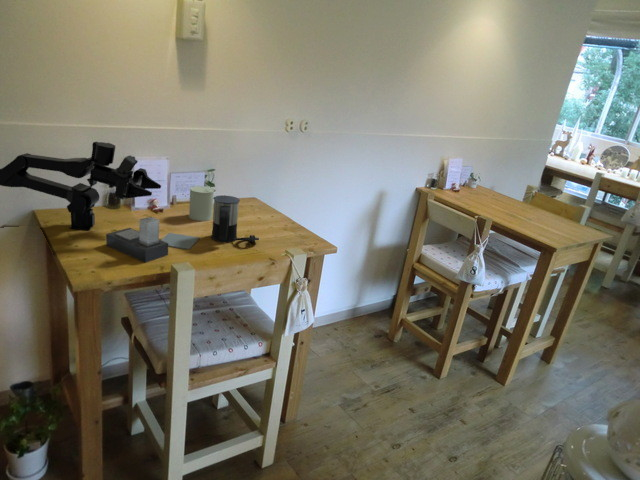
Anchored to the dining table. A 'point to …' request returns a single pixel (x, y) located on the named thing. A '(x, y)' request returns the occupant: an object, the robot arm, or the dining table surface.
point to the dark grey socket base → (135, 245)
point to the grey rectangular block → (149, 232)
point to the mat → (180, 240)
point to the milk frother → (226, 220)
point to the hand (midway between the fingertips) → (156, 190)
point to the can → (201, 203)
